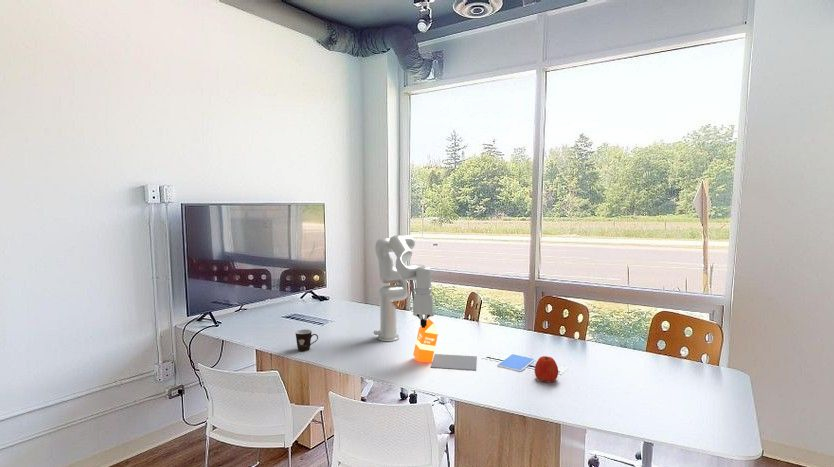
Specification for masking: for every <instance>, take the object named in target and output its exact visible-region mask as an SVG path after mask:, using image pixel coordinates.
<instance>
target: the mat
mask: <svg viewBox="0 0 834 467" xmlns="http://www.w3.org/2000/svg"><path fill="white" fill-rule="evenodd" d="M477 359H478V356H475V355H461V354H460V355H458V354H457V355H456V354H443V353H442V354H439V353H435V354H433V359H432V363H431V364H430V368H432V369H448V370H458V371H459V370H461V371H475V372H476V371H477V365H478V364H477V363H478V360H477Z"/></svg>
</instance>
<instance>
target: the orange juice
mask: <svg viewBox="0 0 834 467" xmlns="http://www.w3.org/2000/svg"><path fill="white" fill-rule="evenodd" d="M438 335H439V334H438V331H437V328H436V326H435V323H434V322H433V321H432V320H431V319H430V317H429V318H428V319H427V326H425V328H422V326H421V325H420V326H419V328H418V332H417V336H416V341H415V344H414V345H415V346H414V349H413V354H412V355H413V357H414V358H415V359H416V360H417V362H422V363H423V362H424V363H431V364H432V361H433V358H434V355H435V354H434V353H435V349H436V345H437V342H438Z"/></svg>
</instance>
